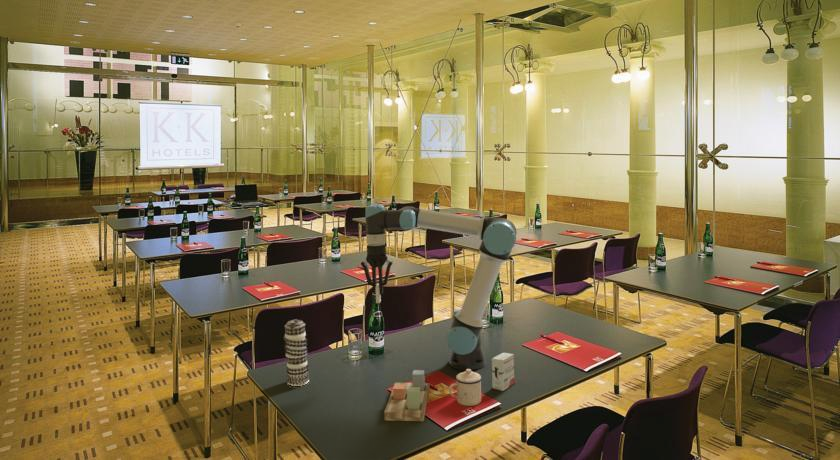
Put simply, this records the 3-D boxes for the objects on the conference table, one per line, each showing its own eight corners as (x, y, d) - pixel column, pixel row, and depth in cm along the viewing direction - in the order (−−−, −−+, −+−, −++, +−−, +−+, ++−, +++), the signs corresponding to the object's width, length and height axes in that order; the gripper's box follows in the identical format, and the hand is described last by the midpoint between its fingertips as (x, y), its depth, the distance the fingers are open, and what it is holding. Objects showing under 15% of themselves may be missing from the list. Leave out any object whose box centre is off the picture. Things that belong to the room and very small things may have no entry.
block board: (429, 390, 209) (429, 383, 209) (423, 421, 186) (423, 412, 185) (395, 390, 211) (395, 382, 210) (384, 420, 187) (384, 411, 187)
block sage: (420, 404, 192) (420, 387, 191) (419, 409, 188) (418, 392, 187) (409, 404, 192) (408, 387, 191) (407, 409, 188) (406, 392, 187)
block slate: (424, 386, 206) (424, 370, 206) (423, 390, 203) (423, 374, 202) (414, 386, 207) (413, 370, 206) (412, 390, 203) (412, 374, 202)
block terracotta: (406, 400, 200) (405, 384, 199) (404, 405, 196) (404, 388, 195) (395, 400, 200) (394, 384, 200) (393, 405, 197) (392, 388, 196)
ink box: (503, 380, 216) (503, 351, 215) (514, 383, 213) (514, 354, 212) (491, 388, 210) (491, 357, 208) (502, 391, 207) (502, 360, 205)
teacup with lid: (475, 393, 205) (475, 363, 204) (485, 404, 197) (485, 372, 195) (445, 398, 202) (444, 368, 200) (454, 409, 193) (453, 377, 192)
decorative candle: (289, 378, 225) (285, 318, 222) (312, 377, 225) (309, 317, 221) (283, 387, 216) (279, 325, 212) (307, 387, 216) (303, 324, 212)
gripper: (358, 246, 218) (360, 304, 221) (391, 245, 217) (393, 304, 220) (361, 242, 225) (364, 299, 229) (393, 242, 224) (395, 299, 227)
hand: (378, 302), depth 224 cm, fingers closed
